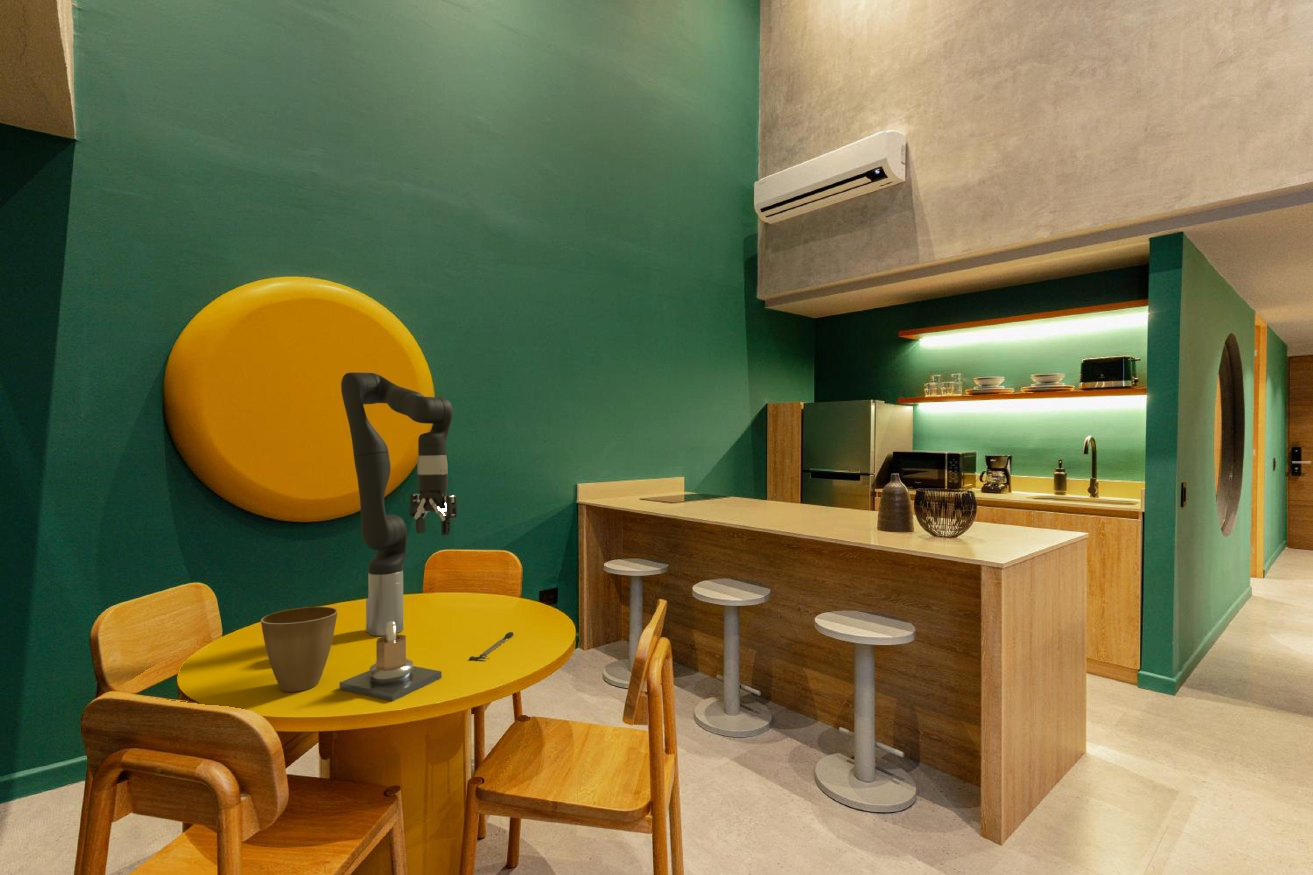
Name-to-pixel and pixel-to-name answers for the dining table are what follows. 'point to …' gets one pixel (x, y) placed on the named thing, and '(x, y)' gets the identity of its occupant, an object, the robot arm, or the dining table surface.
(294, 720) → the dining table surface
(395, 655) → the copper ring
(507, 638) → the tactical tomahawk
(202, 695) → the dining table surface
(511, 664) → the dining table surface
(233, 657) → the dining table surface
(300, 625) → the plant pot
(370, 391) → the robot arm
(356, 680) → the piston base
